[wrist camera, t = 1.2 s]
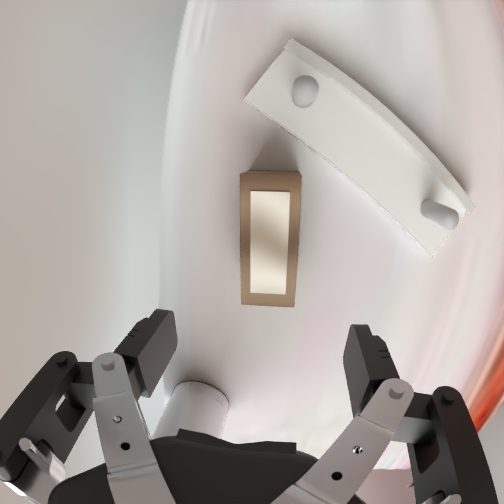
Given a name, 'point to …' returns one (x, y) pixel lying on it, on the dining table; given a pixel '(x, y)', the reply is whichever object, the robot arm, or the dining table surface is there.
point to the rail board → (362, 143)
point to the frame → (269, 236)
